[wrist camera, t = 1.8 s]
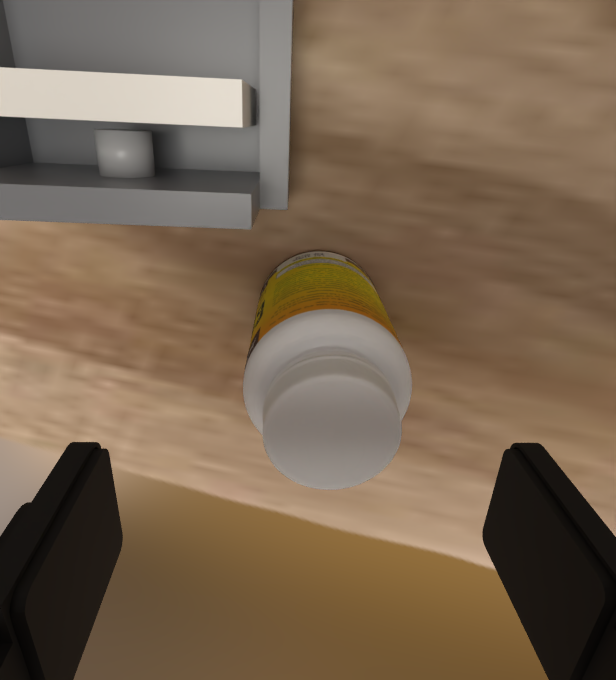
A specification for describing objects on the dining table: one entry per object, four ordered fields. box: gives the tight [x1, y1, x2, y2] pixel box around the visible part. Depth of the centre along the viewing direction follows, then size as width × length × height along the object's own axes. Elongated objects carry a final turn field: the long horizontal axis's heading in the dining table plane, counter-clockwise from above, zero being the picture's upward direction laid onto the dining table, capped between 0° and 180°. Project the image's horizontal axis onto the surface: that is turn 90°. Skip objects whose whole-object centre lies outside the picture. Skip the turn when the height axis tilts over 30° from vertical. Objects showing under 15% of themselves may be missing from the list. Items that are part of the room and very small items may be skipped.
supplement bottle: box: [243, 251, 412, 490], centre depth 18 cm, size 6×6×10 cm
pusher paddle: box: [0, 67, 256, 128], centre depth 15 cm, size 8×1×5 cm, turn 88°
